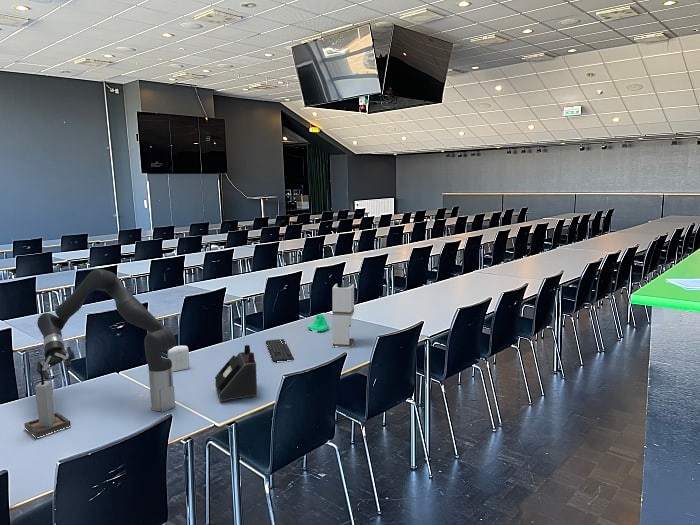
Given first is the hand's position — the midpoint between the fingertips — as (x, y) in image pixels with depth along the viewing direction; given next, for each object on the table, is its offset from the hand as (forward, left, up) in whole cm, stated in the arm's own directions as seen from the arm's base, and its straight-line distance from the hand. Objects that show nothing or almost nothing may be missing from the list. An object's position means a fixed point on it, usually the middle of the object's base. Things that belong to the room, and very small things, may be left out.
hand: (57, 372), depth 204 cm
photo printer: (+7, -58, -18) cm, 61 cm away
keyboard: (-11, -110, -19) cm, 112 cm away
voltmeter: (-39, -58, -18) cm, 72 cm away
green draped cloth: (0, -153, -18) cm, 154 cm away
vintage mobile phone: (-9, +8, -16) cm, 20 cm away
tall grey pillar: (-32, -141, -18) cm, 146 cm away
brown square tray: (-9, +8, -18) cm, 22 cm away
